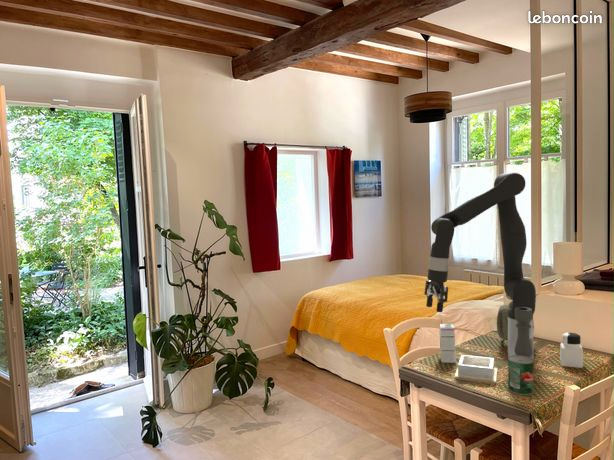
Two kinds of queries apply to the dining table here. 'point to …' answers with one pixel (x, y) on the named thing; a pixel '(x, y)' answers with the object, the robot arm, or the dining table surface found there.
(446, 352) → the syrup box
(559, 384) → the dining table surface
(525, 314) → the candle holder
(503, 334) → the tabletop clock
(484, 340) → the dining table surface
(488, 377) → the rectangular hollow frame
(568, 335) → the medicine bottle
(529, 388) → the canned tomato
